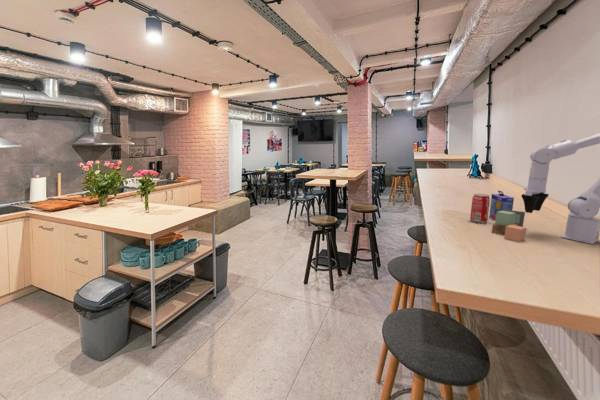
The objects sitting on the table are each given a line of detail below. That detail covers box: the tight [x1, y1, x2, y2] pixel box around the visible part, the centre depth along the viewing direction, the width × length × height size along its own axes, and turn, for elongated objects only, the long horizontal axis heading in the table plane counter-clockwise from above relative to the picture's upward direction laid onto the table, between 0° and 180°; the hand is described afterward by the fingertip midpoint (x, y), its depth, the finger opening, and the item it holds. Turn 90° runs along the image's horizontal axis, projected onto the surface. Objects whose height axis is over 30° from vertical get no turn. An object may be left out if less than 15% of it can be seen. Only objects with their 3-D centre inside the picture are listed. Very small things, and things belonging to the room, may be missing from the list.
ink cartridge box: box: [488, 190, 515, 221], centre depth 141 cm, size 10×6×14 cm, turn 174°
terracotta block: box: [503, 225, 527, 243], centre depth 113 cm, size 5×5×5 cm
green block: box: [494, 211, 516, 226], centre depth 121 cm, size 5×5×5 cm
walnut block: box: [491, 222, 517, 236], centre depth 122 cm, size 7×7×4 cm
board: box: [503, 209, 526, 227], centre depth 129 cm, size 5×8×8 cm, turn 51°
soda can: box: [470, 193, 491, 224], centre depth 138 cm, size 7×7×13 cm
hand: (532, 211), depth 119 cm, fingers open, 7 cm apart
